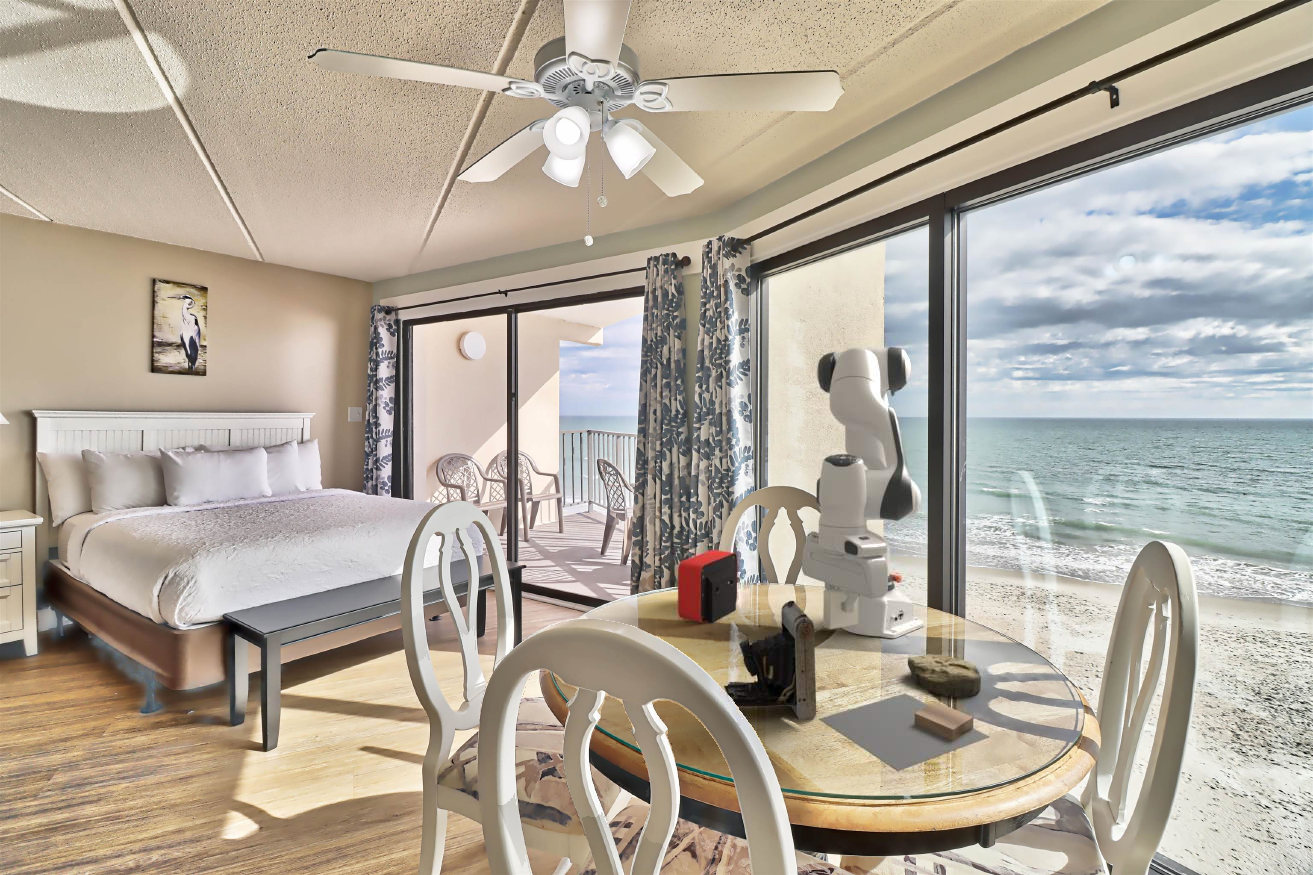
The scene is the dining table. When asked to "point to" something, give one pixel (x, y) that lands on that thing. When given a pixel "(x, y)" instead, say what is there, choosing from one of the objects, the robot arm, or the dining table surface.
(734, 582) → the alarm clock
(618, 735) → the dining table surface
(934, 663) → the stone
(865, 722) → the mat
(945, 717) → the walnut block
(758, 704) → the vintage camera
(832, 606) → the box
